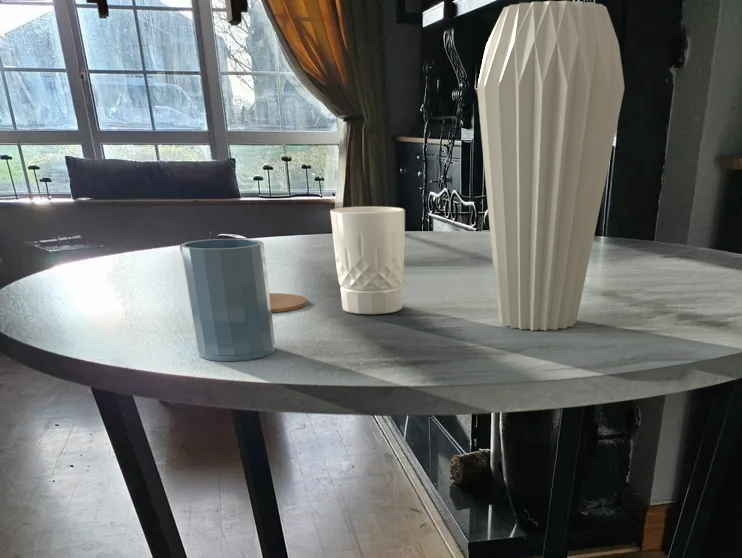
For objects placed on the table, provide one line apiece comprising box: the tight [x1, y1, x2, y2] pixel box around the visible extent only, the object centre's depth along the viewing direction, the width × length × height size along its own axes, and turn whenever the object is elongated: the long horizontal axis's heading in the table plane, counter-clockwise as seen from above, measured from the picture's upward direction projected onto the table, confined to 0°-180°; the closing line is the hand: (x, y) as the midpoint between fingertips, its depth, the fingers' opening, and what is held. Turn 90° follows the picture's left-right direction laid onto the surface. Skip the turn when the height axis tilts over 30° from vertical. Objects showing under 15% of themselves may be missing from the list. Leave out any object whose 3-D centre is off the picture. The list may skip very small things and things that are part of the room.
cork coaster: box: [269, 292, 308, 314], centre depth 89 cm, size 10×10×1 cm
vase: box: [476, 0, 625, 332], centre depth 74 cm, size 13×13×26 cm
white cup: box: [329, 206, 406, 315], centre depth 85 cm, size 8×8×10 cm
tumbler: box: [179, 238, 276, 362], centre depth 68 cm, size 7×7×9 cm
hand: (171, 20), depth 60 cm, fingers open, 9 cm apart
